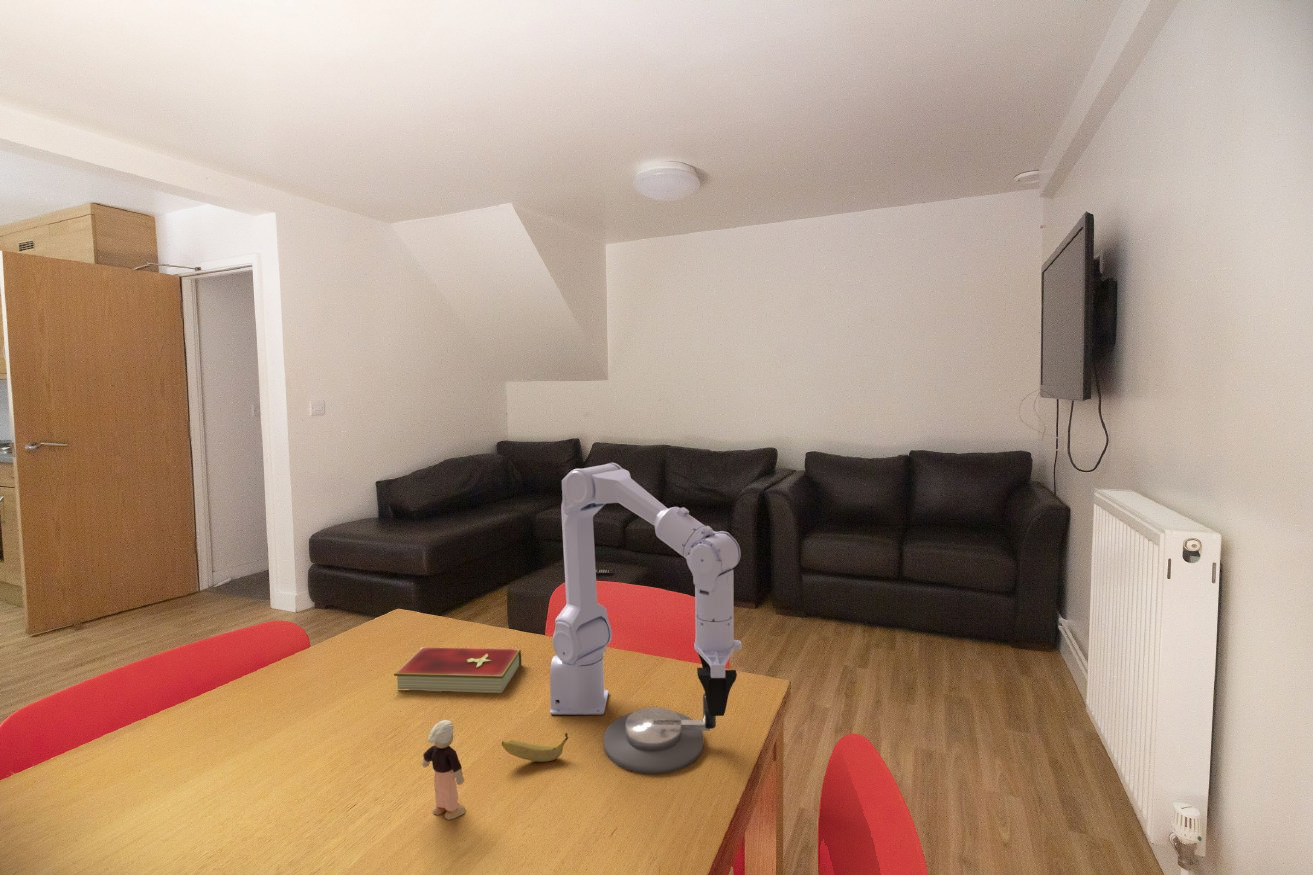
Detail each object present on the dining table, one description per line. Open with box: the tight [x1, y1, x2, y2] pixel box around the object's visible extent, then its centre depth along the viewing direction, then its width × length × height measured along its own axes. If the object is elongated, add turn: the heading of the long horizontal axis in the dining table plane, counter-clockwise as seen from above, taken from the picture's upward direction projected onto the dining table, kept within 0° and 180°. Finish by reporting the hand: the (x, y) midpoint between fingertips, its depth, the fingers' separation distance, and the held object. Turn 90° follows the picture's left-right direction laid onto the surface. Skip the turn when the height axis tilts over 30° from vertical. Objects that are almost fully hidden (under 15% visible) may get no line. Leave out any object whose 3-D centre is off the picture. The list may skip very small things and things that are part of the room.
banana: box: [501, 732, 569, 763], centre depth 97 cm, size 10×2×4 cm, turn 98°
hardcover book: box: [393, 647, 523, 694], centre depth 125 cm, size 12×21×4 cm, turn 86°
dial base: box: [603, 711, 704, 775], centre depth 102 cm, size 16×16×1 cm
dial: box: [625, 693, 717, 751], centre depth 101 cm, size 14×9×6 cm, turn 88°
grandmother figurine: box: [421, 719, 466, 821], centre depth 86 cm, size 8×4×13 cm, turn 71°
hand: (714, 701), depth 96 cm, fingers open, 7 cm apart
